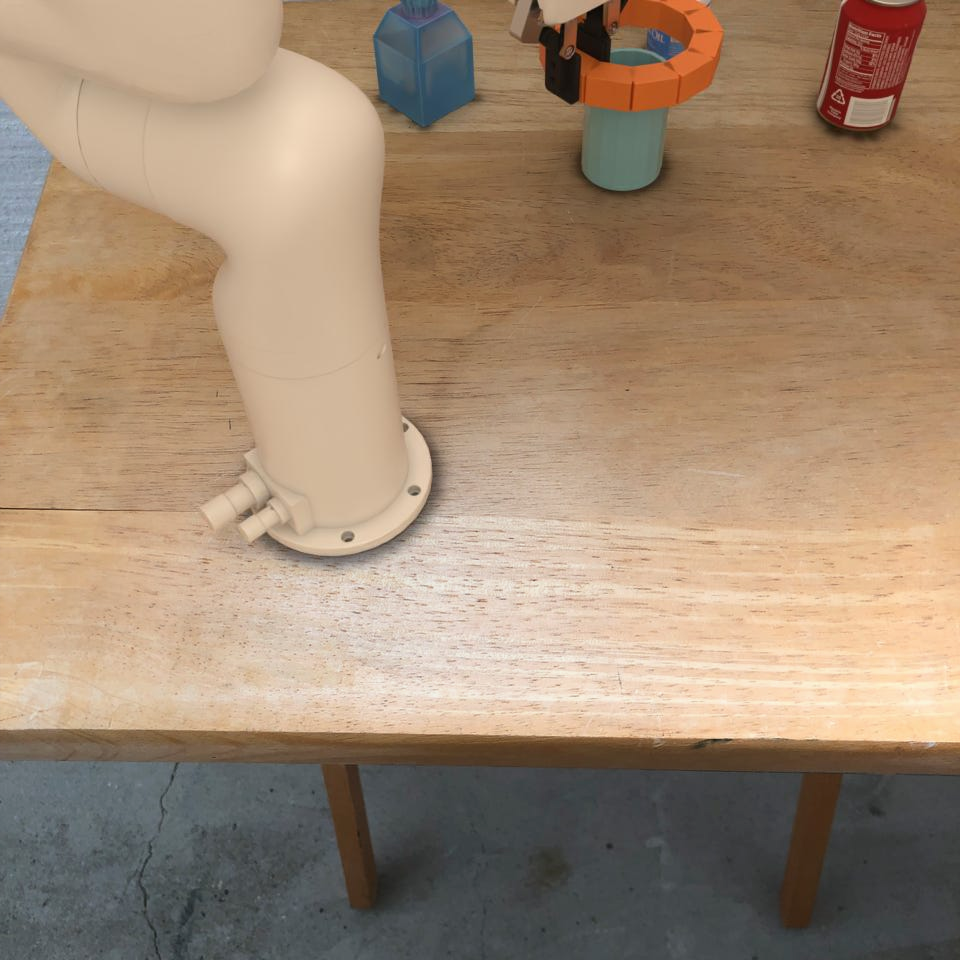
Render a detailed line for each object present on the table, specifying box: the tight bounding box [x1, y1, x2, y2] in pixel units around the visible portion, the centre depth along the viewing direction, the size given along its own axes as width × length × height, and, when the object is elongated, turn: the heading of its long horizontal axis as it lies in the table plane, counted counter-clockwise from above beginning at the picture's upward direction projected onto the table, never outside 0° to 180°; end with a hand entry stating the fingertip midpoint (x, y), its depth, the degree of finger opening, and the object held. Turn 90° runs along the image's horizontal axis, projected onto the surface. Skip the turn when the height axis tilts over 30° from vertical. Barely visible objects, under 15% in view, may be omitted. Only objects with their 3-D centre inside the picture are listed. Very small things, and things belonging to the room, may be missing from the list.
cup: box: [580, 47, 670, 192], centre depth 91 cm, size 7×7×9 cm
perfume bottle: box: [372, 0, 476, 128], centre depth 96 cm, size 6×6×12 cm
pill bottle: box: [645, 0, 712, 61], centre depth 100 cm, size 6×5×10 cm
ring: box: [538, 0, 725, 112], centre depth 85 cm, size 14×14×2 cm
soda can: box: [816, 0, 928, 132], centre depth 93 cm, size 7×7×12 cm
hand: (576, 86), depth 84 cm, fingers closed on ring, 2 cm apart
